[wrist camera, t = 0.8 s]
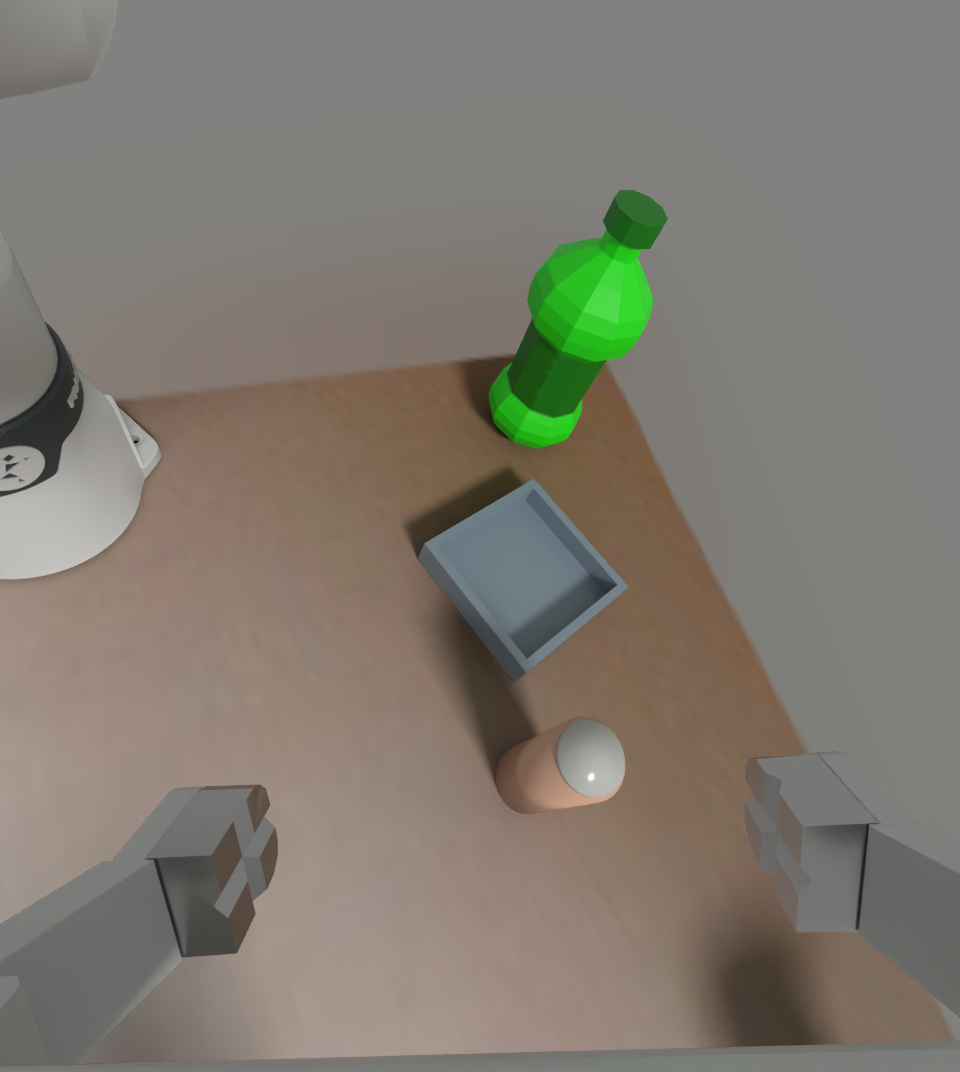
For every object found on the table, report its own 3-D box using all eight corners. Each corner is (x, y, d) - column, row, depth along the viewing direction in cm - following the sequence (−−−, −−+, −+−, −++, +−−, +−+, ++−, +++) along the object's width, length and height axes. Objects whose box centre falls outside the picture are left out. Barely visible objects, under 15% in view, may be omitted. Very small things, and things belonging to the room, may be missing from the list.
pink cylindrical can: (482, 772, 43) (537, 749, 34) (527, 731, 46) (590, 698, 36) (524, 829, 42) (593, 821, 33) (567, 783, 45) (644, 764, 35)
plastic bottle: (517, 377, 65) (624, 153, 44) (583, 439, 64) (726, 235, 43) (458, 413, 60) (548, 178, 39) (527, 481, 58) (660, 273, 37)
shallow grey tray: (417, 558, 50) (424, 543, 48) (523, 495, 57) (533, 478, 55) (513, 682, 47) (526, 672, 45) (613, 599, 54) (628, 587, 52)
